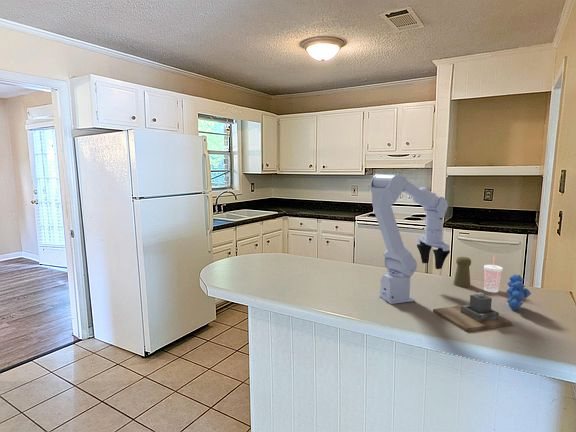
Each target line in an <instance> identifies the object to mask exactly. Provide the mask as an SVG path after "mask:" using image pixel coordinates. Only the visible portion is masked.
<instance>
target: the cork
mask: <svg viewBox="0 0 576 432" xmlns="http://www.w3.org/2000/svg"><path fill="white" fill-rule="evenodd" d="M455 262H456V265H457V266H456V271H455V273H454V274H455V276H454V280H453V286H456V287H459V288H471V286H472V285H471V271H470V266H471V265H472V260H471V258H470V257H467V256H459V257H457V258H456V260H455Z"/></svg>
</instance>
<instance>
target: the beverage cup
mask: <svg viewBox="0 0 576 432" xmlns="http://www.w3.org/2000/svg"><path fill="white" fill-rule="evenodd" d="M492 258H493V259H492V264H484V265H483V270H484V278H483V279H484V280H483V281H484V283H483V284H484V285H483V290H484V291H486V292H488V293H499V291H500V290H499V289H500V284H501V283H500V282H501V276H502V272H503V269H504V268H503V267H502V266H500V265H496V264H495V258H496V253H493V257H492Z"/></svg>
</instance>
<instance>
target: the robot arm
mask: <svg viewBox="0 0 576 432" xmlns="http://www.w3.org/2000/svg"><path fill="white" fill-rule="evenodd" d="M369 190H370V193H371V196H372V198H371V199H372V200H371V201H372V202H371V203H372V204H371V205H372V209H373V211H374V215H375V218H376V220H377V223H378V227H379V230H380V233H381V236H382V238H383V241H384V244H385V247H386V250H385V251H384V253H383V254H382V255H383V258H384V259H383V263H384V264H383V265H384V267H385V268H386V272H387V274H384V275H382V276H381V278H380V292H379V295H378V297H380V298H381V299H382V300H384V301H386V302H387V303H389V304H390V305H393V304H394V305H395V304H403V303H410V302H415V301H416V299H415V298H413V297H411V296H410V295H411V277H412V276H413V275H414V274H415V272H416V271H417V268H418V267H417V266H418V265H417V264H418V262H417V260H416V259H415V258H414V256H413V254H412V253H411V251H409V250H408V249H407V248H406V247H405V246H404V243H403V240H402V235H401V232H400V229H399V226H398V224H397V220H396V217H395V214H394V211H393V207H392V205H394V204H395V203H396V201H398V199H399V197H400V196H401V195H402V194H403V193H404V194H406V195H407V196H408V195H409V196H410V197H411V198H412V201H413V202H414V203H416V204H417V205H420V206H421V207H422V208H423V210H424V212H426V213H425V214H426V215H425V232H424V237H421V236H419V237H418V240H417V243H418V244H416V247H417V249H418V251H419V254H420V259H421V263H422V264H428V263H429V261H430V253H431V250H432V251H433V254H434V262H435V263H434V265H435V266H434V267H435V269H436V270H442V269H443V266H444V263H445V261H446V258H447V257H448V255H449V254H450V253H451V250H450V245H449V244H447V243H445V242H444V240H443V227H444V226H443V225H444V218H445V216H446V212H447V209H448V207H449V206H448V205H449V204H448V202H447V199H446V198H445V197H444V196H439V195H437V194H436V192H432V191H430V190H429V188H428V187H427V186H422V187H418V186H416V185H415V184H414V183H412V181H409V180H408V179H407V177H406V176H403V175H402V174H400V173H399V174H398V173H396V174H385V173H376V174H374V175H373V176H372V178H371V181H370V183H369ZM432 247H433V248H436V249H432Z"/></svg>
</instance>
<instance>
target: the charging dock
mask: <svg viewBox="0 0 576 432" xmlns="http://www.w3.org/2000/svg"><path fill="white" fill-rule="evenodd" d="M469 307H470V303H469V304H463V305H455V306H446V307H439V308H433V309H432V313H433V314H436V315H437V316H439V317H441V318H442V319H444V320H445V321H447V322H449V323H451V324H452V325H454V326H456V327H458V328H460V329H461V330H462V331H464V332H465V333H468V332H476V331H481V330H487V329H493V328H500V327H507V326H512V324H513V321H511V319H508V318H505V317H503V316H501V315H500V313H499V311H496V310H494V309H492V308H491V312H490V313H483V314H478V313H476V312H474V311H472V310H470V309H469Z"/></svg>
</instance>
